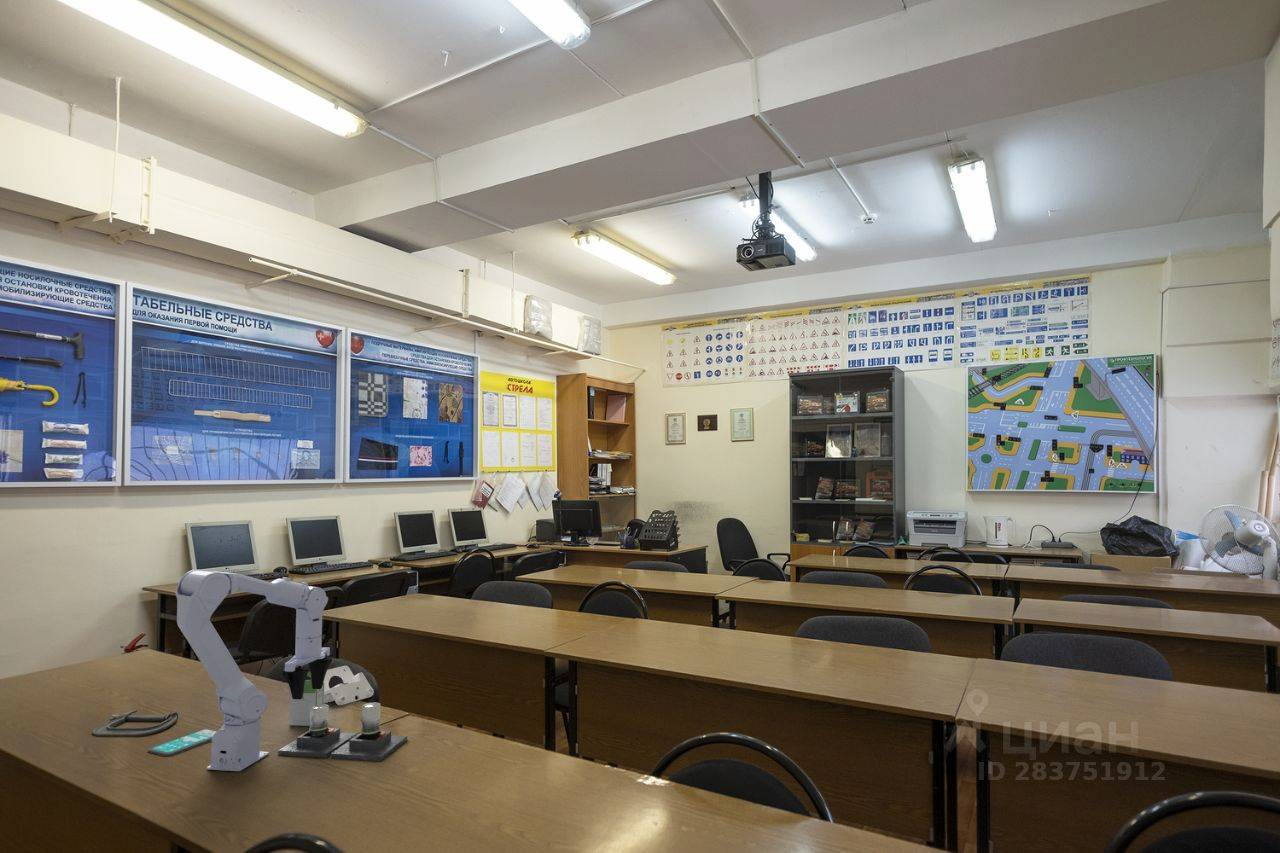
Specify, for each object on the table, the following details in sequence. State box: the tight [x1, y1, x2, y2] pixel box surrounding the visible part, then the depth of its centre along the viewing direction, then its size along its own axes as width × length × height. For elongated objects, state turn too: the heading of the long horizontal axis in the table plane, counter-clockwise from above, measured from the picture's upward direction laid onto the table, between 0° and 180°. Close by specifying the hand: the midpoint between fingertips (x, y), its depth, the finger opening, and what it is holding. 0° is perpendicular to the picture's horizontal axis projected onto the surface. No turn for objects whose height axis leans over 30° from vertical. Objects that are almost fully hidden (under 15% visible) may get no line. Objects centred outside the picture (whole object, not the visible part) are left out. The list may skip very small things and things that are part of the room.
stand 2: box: [330, 729, 408, 762], centre depth 158 cm, size 12×12×4 cm
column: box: [360, 702, 381, 735], centre depth 158 cm, size 4×4×6 cm
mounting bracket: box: [323, 665, 375, 706], centre depth 194 cm, size 12×6×11 cm, turn 143°
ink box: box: [288, 671, 324, 727], centre depth 175 cm, size 7×4×13 cm, turn 84°
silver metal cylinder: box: [308, 703, 330, 736], centre depth 160 cm, size 4×4×6 cm
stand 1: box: [277, 727, 358, 759], centre depth 160 cm, size 12×12×4 cm
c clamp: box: [91, 709, 179, 738], centre depth 175 cm, size 20×17×3 cm
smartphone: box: [147, 727, 221, 757], centre depth 162 cm, size 9×1×15 cm
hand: (307, 693), depth 165 cm, fingers open, 7 cm apart
